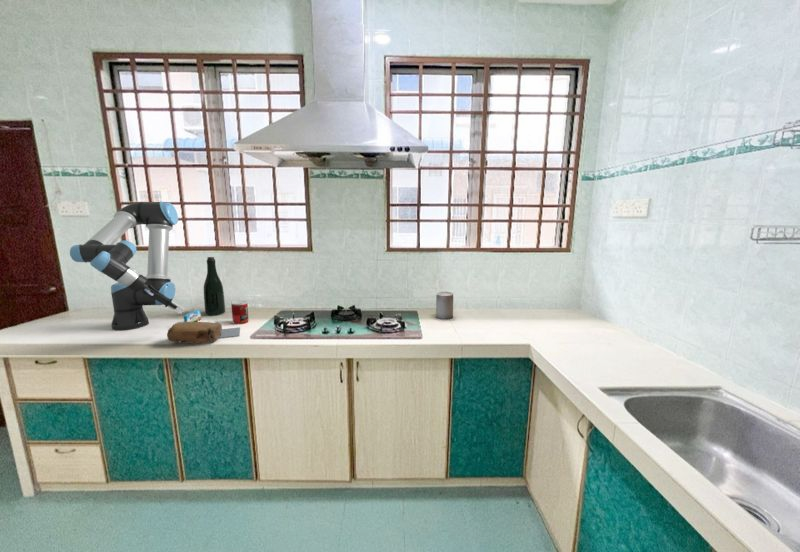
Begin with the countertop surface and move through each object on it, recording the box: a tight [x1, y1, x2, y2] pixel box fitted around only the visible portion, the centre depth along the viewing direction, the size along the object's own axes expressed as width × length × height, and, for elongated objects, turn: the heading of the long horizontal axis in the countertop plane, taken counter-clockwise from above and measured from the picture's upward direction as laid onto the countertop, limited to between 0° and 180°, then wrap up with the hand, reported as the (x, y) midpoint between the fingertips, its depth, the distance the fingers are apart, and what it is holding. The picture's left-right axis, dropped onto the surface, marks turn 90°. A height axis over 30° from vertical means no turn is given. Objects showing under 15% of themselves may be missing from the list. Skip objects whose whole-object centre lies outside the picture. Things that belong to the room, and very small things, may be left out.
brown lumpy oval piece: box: [166, 321, 223, 344], centre depth 156 cm, size 11×8×20 cm
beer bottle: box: [203, 256, 226, 317], centre depth 198 cm, size 10×10×33 cm
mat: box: [179, 326, 241, 344], centre depth 165 cm, size 13×24×1 cm, turn 113°
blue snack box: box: [183, 309, 202, 322], centre depth 181 cm, size 12×2×6 cm, turn 0°
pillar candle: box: [435, 291, 454, 320], centre depth 197 cm, size 10×10×15 cm
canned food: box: [231, 300, 250, 325], centre depth 184 cm, size 8×8×11 cm
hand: (182, 311), depth 161 cm, fingers closed
